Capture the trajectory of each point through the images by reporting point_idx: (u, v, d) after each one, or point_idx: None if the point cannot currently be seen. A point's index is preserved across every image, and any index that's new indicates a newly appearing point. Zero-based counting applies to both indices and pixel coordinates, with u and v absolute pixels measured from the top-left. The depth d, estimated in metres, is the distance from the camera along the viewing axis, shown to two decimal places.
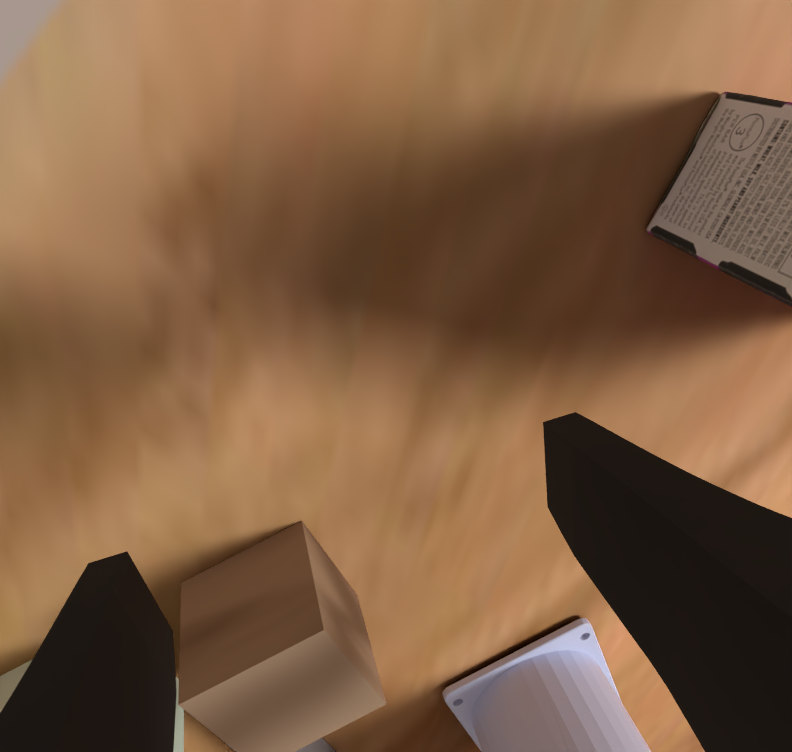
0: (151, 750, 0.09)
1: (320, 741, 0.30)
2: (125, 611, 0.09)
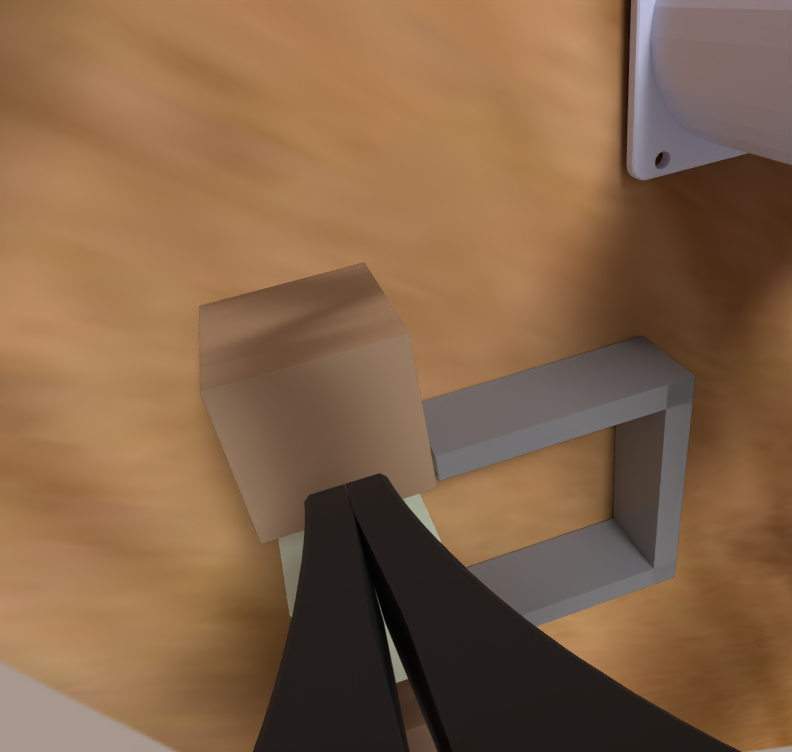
0: (390, 667, 0.09)
1: (598, 354, 0.23)
2: (359, 536, 0.10)
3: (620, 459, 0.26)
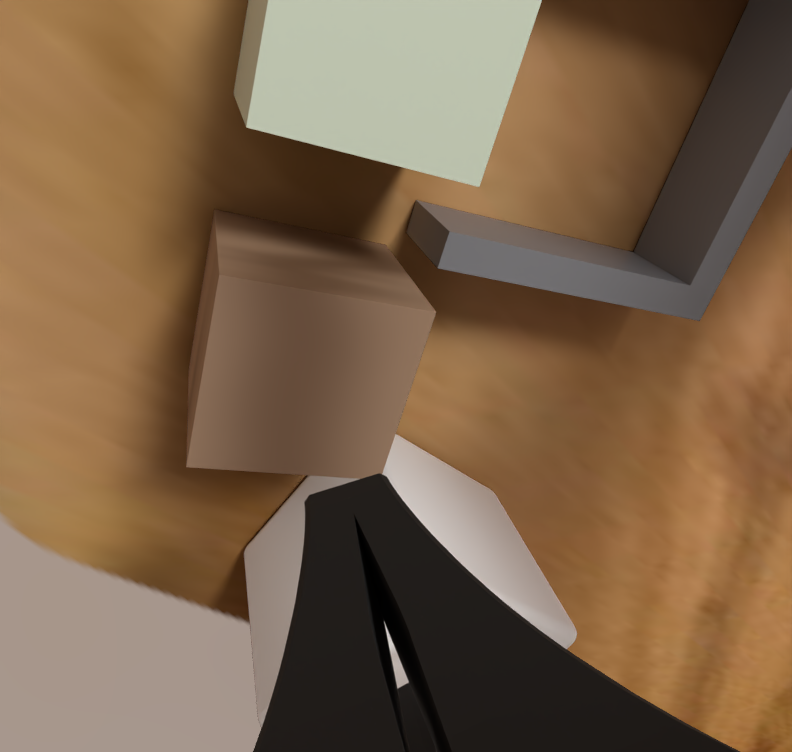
0: (390, 667, 0.09)
1: None
2: (360, 535, 0.10)
3: (693, 141, 0.20)
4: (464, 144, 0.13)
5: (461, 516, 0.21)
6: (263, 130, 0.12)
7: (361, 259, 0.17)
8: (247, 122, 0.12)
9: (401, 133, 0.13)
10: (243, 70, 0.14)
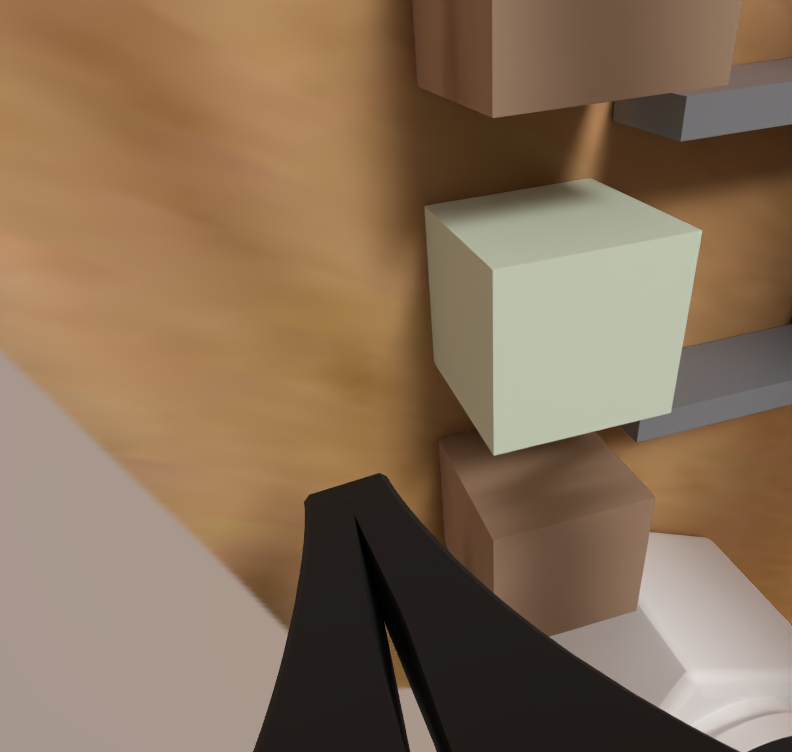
0: (390, 666, 0.09)
1: None
2: (359, 535, 0.10)
3: None
4: (653, 394, 0.17)
5: (700, 596, 0.24)
6: (505, 452, 0.16)
7: (568, 445, 0.21)
8: (493, 452, 0.16)
9: (603, 409, 0.16)
10: (454, 374, 0.18)
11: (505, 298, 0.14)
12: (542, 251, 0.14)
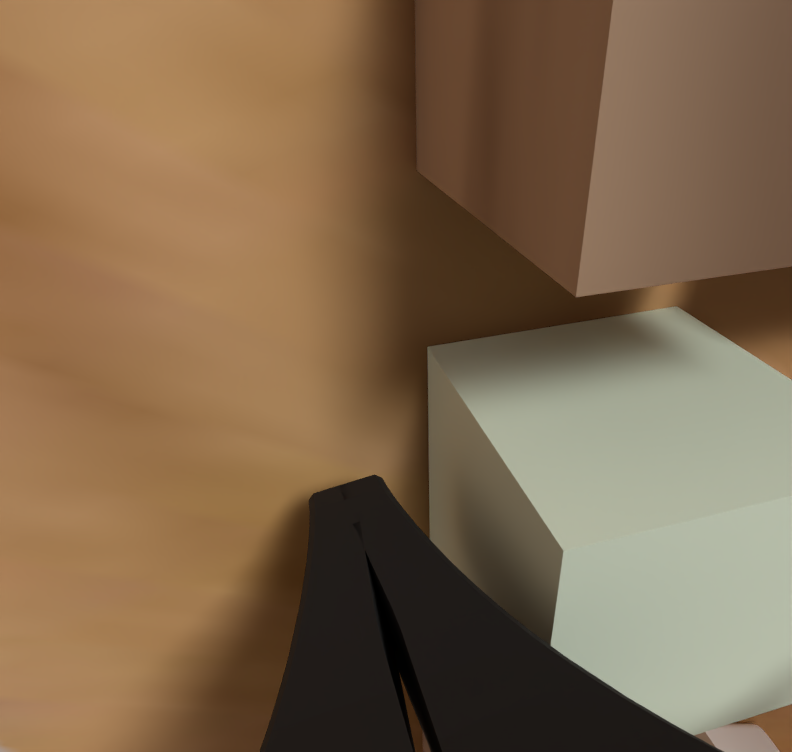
0: (395, 664, 0.09)
1: None
2: None
3: None
4: (787, 681, 0.10)
5: None
6: None
7: None
8: None
9: (710, 709, 0.10)
10: None
11: (580, 588, 0.08)
12: (645, 497, 0.08)
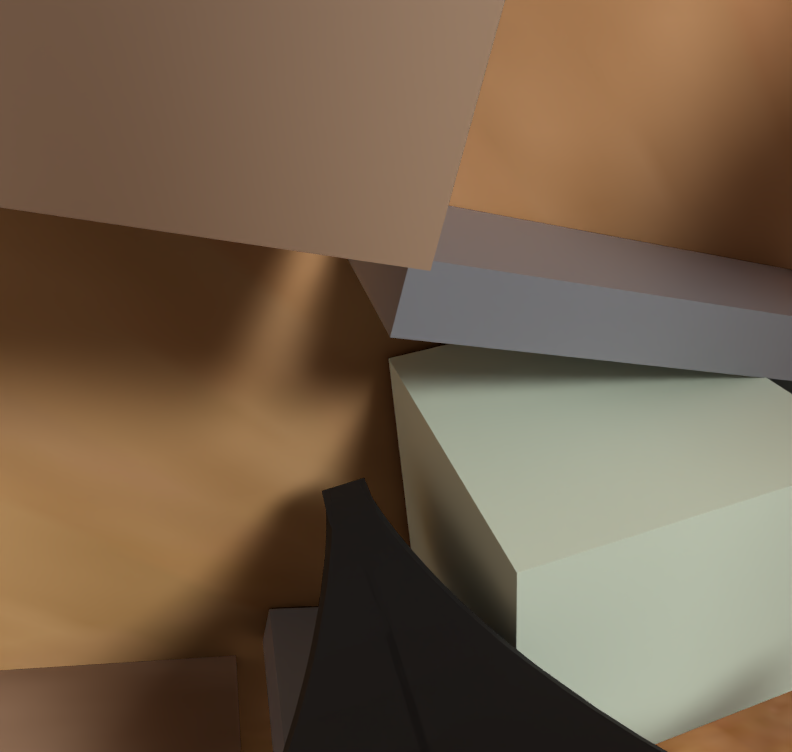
0: None
1: (730, 261, 0.12)
2: None
3: None
4: (770, 675, 0.10)
5: None
6: None
7: (177, 744, 0.12)
8: None
9: (693, 709, 0.10)
10: None
11: (540, 607, 0.07)
12: (602, 509, 0.08)
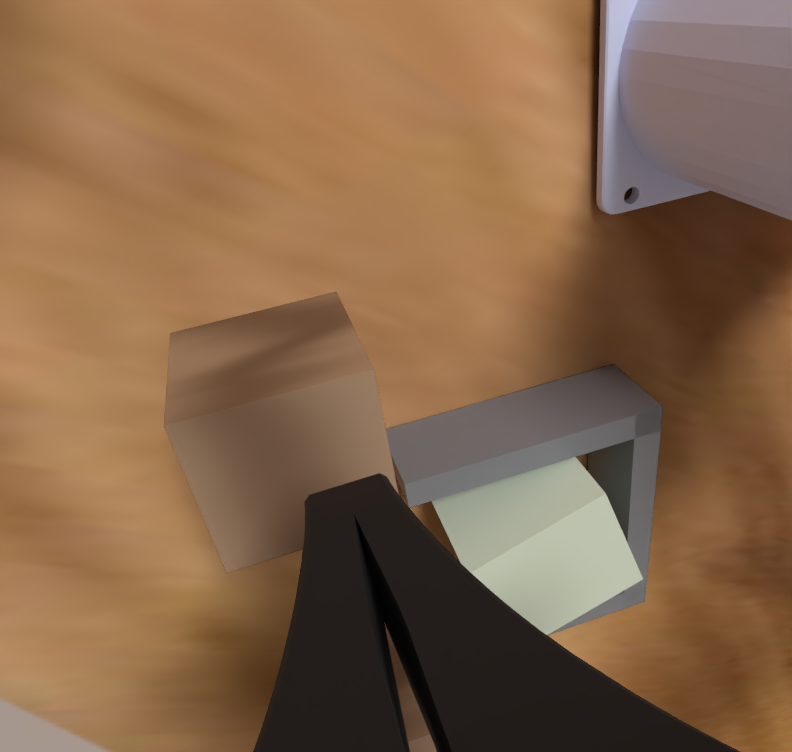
0: (389, 667, 0.09)
1: (569, 382, 0.23)
2: (359, 535, 0.10)
3: None
4: (622, 576, 0.22)
5: None
6: None
7: None
8: None
9: (588, 598, 0.22)
10: None
11: (483, 582, 0.20)
12: (497, 542, 0.20)
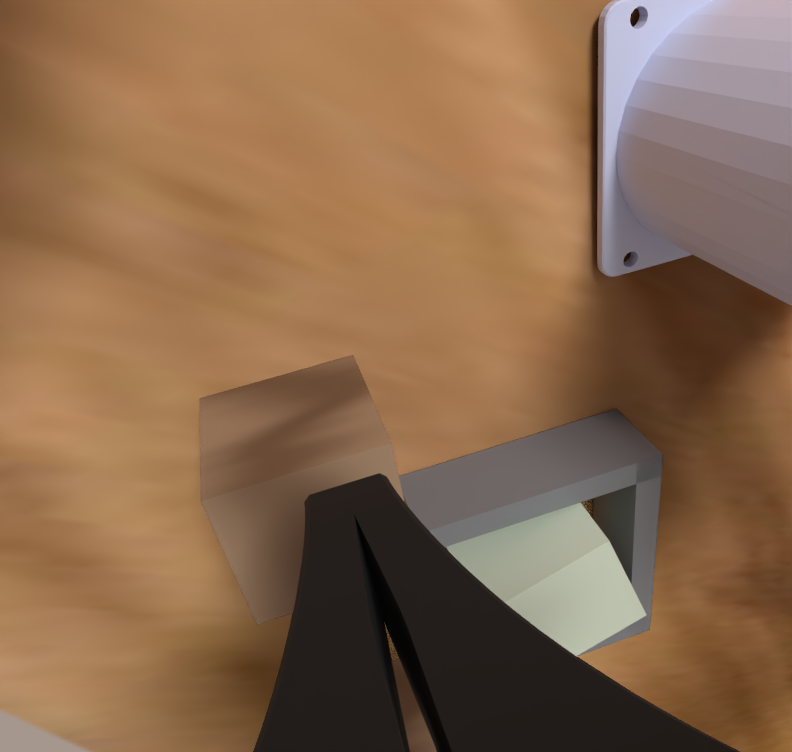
0: (390, 667, 0.09)
1: (574, 427, 0.24)
2: (359, 535, 0.10)
3: (598, 519, 0.27)
4: (626, 613, 0.23)
5: None
6: None
7: (409, 696, 0.28)
8: None
9: (594, 634, 0.24)
10: None
11: None
12: (507, 585, 0.22)
